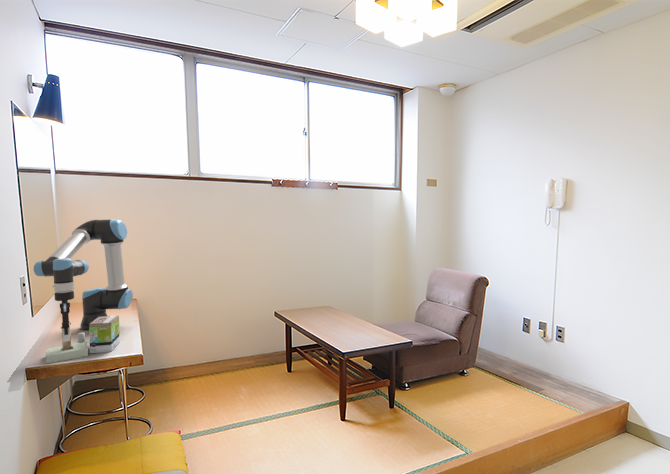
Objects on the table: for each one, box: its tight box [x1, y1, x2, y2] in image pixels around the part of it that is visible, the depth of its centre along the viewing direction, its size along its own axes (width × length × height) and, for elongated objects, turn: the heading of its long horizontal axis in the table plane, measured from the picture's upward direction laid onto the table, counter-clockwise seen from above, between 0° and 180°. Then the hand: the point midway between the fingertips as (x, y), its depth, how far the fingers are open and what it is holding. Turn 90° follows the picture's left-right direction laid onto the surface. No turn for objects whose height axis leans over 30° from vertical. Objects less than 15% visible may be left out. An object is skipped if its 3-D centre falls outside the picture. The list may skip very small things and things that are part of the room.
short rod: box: [76, 331, 86, 343], centre depth 194 cm, size 3×3×7 cm
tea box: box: [88, 315, 121, 354], centre depth 192 cm, size 15×10×15 cm
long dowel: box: [61, 321, 72, 351], centre depth 181 cm, size 3×3×14 cm
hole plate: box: [45, 341, 89, 364], centre depth 182 cm, size 16×12×4 cm
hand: (66, 340), depth 182 cm, fingers closed on long dowel, 3 cm apart
